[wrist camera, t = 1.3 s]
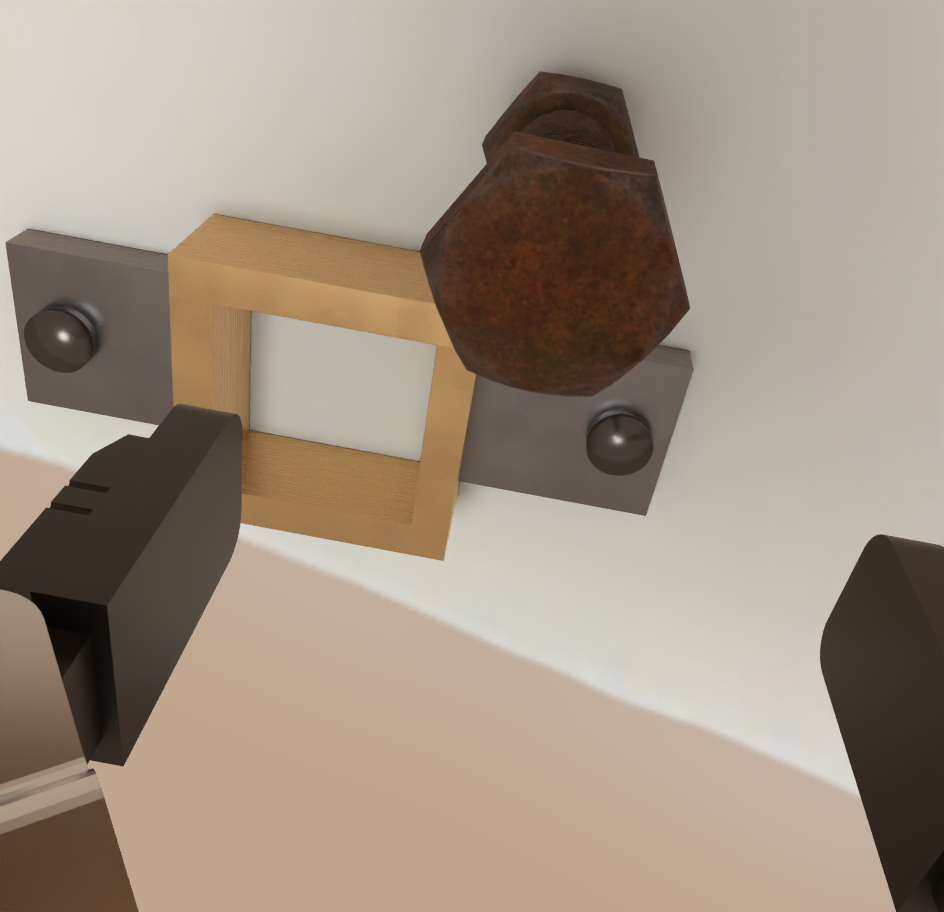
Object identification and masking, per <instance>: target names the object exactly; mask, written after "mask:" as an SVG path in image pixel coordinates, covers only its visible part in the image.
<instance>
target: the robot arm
mask: <svg viewBox="0 0 944 912" xmlns="http://www.w3.org/2000/svg"><path fill="white" fill-rule="evenodd" d="M241 509H242V422H241V419H240V416H239V415H238V414H234V413H228V412H223V411H217V410H212V409H207V408H201V407H196V406H190V405H185V404H177V405H176V406H174V407H173V408H172V410H171V411H170V412H169V413H168V415H167V416H166V417H165V419H164V420H163V421H162V422H161V424H160V425H159V426H158V428H157V429H156V430H155V431H154V433H153V434H152V435H151V437H150V438H144V437H139V436H134V435H126V436H125V437H123V438H121V439H119V440H117V441H115V442H114V443H112V444H110V445H108V446H106V447H104V448H102V449H101V450H99V451H97V452H95V453H93V454H92V455H91V456H90V457H89V458H88V460H87V461H86V462H85V463H84V464H83V465H82V467H81V468H80V469H79V470H78V471H77V472H76V474H75V475H74V476H73V477H72V478H71V479H70V483H69V486H64V488H63V489H62V490H61V491H60V492H59V493H58V495H57V496H56V497H55V498H54V499H53V501H52V502H51V507H50V508H46V509H45V510H44V511H43V512H42V513H41V514H40V516H39V517H38V518H37V519H36V520H35V521H34V523H33V524H32V525H31V526H30V527H29V529H27V531H26V532H25V533H24V534H23V535H22V536H21V538H20V539H19V540H18V541H17V542H16V543H15V545H14V546H13V547H12V548H11V549H10V551H9V552H8V553H7V554H6V555H5V556H4V557H3V559H2V560H1V561H0V912H139V911H138V908H137V905H136V901H135V898H134V895H133V891H132V888H131V885H130V881H129V878H128V875H127V871H126V868H125V865H124V861H123V858H122V855H121V851H120V848H119V845H118V841H117V838H116V835H115V831H114V828H113V825H112V821H111V818H110V815H109V811H108V808H107V805H106V801H105V798H104V795H103V792H102V788H101V786H100V783H99V780H98V777H97V775H96V773H95V770H94V769H90V770H89V769H88V766H87V764H88V762H89V761H90V760H92V761H97V762H102V763H109V764H114V765H119V766H124V764H125V762H126V760H127V758H128V757H129V755H130V753H131V751H132V749H133V747H134V745H135V743H136V741H137V739H138V737H139V735H140V733H141V731H142V730H143V728H144V726H145V724H146V722H147V720H148V718H149V716H150V714H151V712H152V710H153V708H154V706H155V704H156V702H157V701H158V699H159V696H160V695H161V693H162V691H163V689H164V687H165V685H166V683H167V681H168V679H169V677H170V675H171V673H172V672H173V669H174V668H175V666H176V664H177V662H178V660H179V658H180V656H181V654H182V652H183V650H184V648H185V646H186V644H187V642H188V640H189V639H190V637H191V635H192V633H193V631H194V629H195V627H196V625H197V623H198V621H199V619H200V618H201V616H202V613H203V612H204V610H205V608H206V606H207V604H208V602H209V600H210V598H211V596H212V594H213V592H214V591H215V589H216V587H217V585H218V583H219V581H220V579H221V577H222V575H223V573H224V571H225V569H226V567H227V565H228V563H229V561H230V559H231V557H232V554H233V552H234V548H235V546H236V542H237V538H238V534H239V529H240V522H241ZM820 663H821V669H822V673H823V677H824V680H825V683H826V686H827V690H828V693H829V696H830V699H831V703H832V706H833V709H834V712H835V716H836V719H837V722H838V725H839V728H840V732H841V735H842V738H843V741H844V745H845V748H846V751H847V754H848V758H849V761H850V764H851V767H852V770H853V774H854V777H855V780H856V783H857V787H858V790H859V793H860V796H861V800H862V803H863V806H864V809H865V812H866V815H867V819H868V822H869V825H870V828H871V832H872V835H873V838H874V841H875V845H876V848H877V851H878V854H879V857H880V861H881V864H882V867H883V870H884V874H885V877H886V880H887V883H888V887H889V890H890V893H891V896H892V900H893V903H894V906H895V909H896V912H944V547H943V546H940V545H936V544H931V543H925V542H920V541H915V540H909V539H904V538H898V537H893V536H887V535H881V534H880V535H876V536H874V537H873V538H872V539H871V540H870V541H869V542H868V543H867V545H866V546H865V548H864V550H863V552H862V554H861V556H860V558H859V559H858V561H857V563H856V565H855V567H854V569H853V571H852V573H851V575H850V577H849V579H848V581H847V583H846V585H845V587H844V589H843V591H842V593H841V595H840V597H839V599H838V601H837V603H836V605H835V607H834V608H833V610H832V612H831V614H830V616H829V618H828V620H827V623H826V625H825V628H824V631H823V635H822V640H821V648H820Z"/></svg>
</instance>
